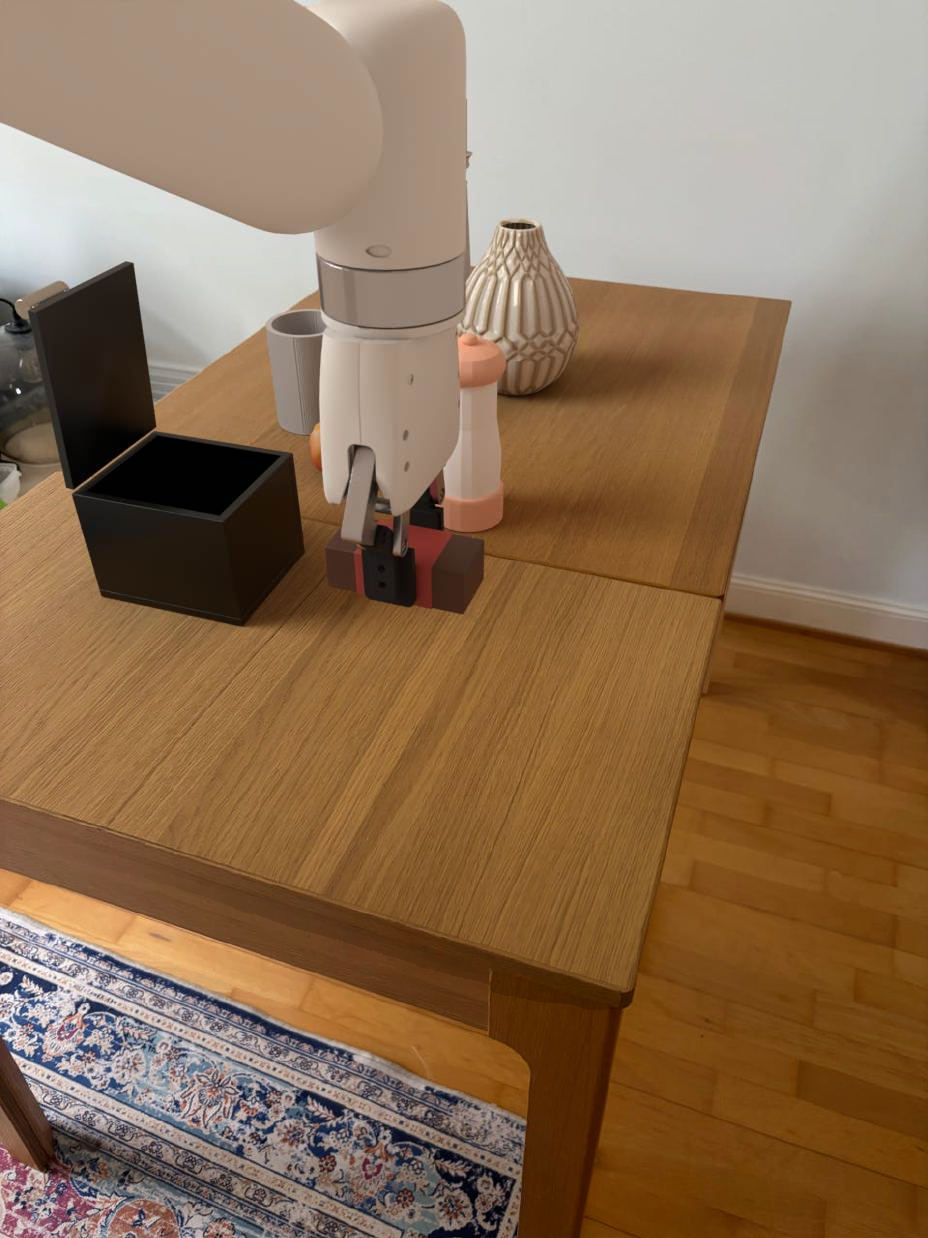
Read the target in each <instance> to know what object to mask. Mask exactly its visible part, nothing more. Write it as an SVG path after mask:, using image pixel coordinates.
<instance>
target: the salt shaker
mask: <svg viewBox="0 0 928 1238" xmlns="http://www.w3.org/2000/svg"><path fill="white" fill-rule="evenodd" d="M458 352H459V372H460V428H459V437H458V442H457V445H456V448H455V450H454V452H453V454H452V455H451V457H450V458H449V460H448V461H447V463H446V465H445V467H443V473H444V483H445V498H444V501H443V503H442V504H441V505H438V504H436V506H437V507H443V508H444V529H445V528H446V529H447V530H450V531H456V532H459V533H475V532H483V531H486V530H490V529H492V528H494V527H495V526H497V525H498V524H499V523H500V522H501V521H502V520H503V517H504V493H505V492H504V487H505V485H504V482H503V481H502V479H501V468H502V455H503V454H502V451H503V450H502V446H501V445H502V444H501V439H500V430H499V425H498V417H497V416H498V415H497V414H498V411H497V410H498V393H497V381H498V380H499V379H500V378H501V377H502V375H503V373H504V371H505V368H506V359H505V355H504V353H503V352H502V350H501V349H500V347H499V346H498V345H497V344H496V343H494V342H492V341H489V340H486V339H483V338H480V337H476V335H475V334H473V333H465V334H463V335H462V336H461V337H458Z"/></svg>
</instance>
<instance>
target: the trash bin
mask: <svg viewBox="0 0 928 1238" xmlns="http://www.w3.org/2000/svg"><path fill="white" fill-rule="evenodd" d="M71 498H72V500H73V503H74V507H75V511H76V515H77V518H78V522H79V524H80V528H81V532H82V535H83V539H84V542H85V545H86V549H87V552H88V556H89V559H90V563H91V566H92V570H93V573H94V576H95V581H96V583H97V587H98V589H99V593H100V596H101V597H102V598H108V599H112V600H117V601H120V602H126V603H131V604H135V605H140V606H145V607H149V608H155V609H158V610H164V611H167V612H168V611H169V612H173V613H176V614H177V613H178V614H182V615H187V616H192V617H196V618H200V619H205V620H211V621H215V622H219V623H225V624H229V625H233V626H238V627H243V626H244V625H245V624H246V623H247V622H248V621H249V619H250V618H251V617H252V616H253V615H254V614H255V612H256V611H257V610H258V609H259V608H260V606H261V605H262V604H263V603H264V601H265V600H266V599H267V598H268V597H269V595H271V593H272V592H273V591H274V590H275V588H276V587H277V586H278V585H279V584H280V583H281V581H282V580H283V579H284V578H285V577H286V576H287V574H288V573H289V572H290V570H291V569H292V568H294V566H295V564H297V562H298V561H299V560H300V559H301V557H302V556H303V555H304V554H305V553H306V549H305V541H304V540H305V539H304V533H303V532H304V531H303V523H302V515H301V509H300V508H301V507H300V499H299V492H298V484H297V476H296V469H295V460H294V454H293V452H288V451H281V450H276V449H271V448H264V447H258V446H251V445H245V444H238V443H232V442H226V441H220V440H214V439H208V438H202V437H195V436H190V435H189V436H188V435H182V434H176V433H170V432H164V431H159V430H158V431H157V430H152V431H151V432H150V433H149V434H147V435H146V436H145V437H143V438H142V439H141V440H139V441H138V442H137V443H136V444H134V445H133V447H130V448H129V450H126V451H125V452H124V454H123V453H122V454H121V455H120V457H119V456H118V457H117V459H116V460H113V461H112V462H111V463H109V464H108V465H107V467H106V466H105V467H104V469H103V470H102V469H101V470H100V471H99V473H96V475H94V476H92V477H91V478H90V479H88V480H87V481H86V482H84V483H83V485H82V486H81V485H80V486H79V487H78V489H75V491H73V492H72V493H71Z"/></svg>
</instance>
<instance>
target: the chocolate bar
mask: <svg viewBox="0 0 928 1238" xmlns="http://www.w3.org/2000/svg"><path fill="white" fill-rule="evenodd" d="M374 522H375V524H379V525H384V526H387V527H388V528H390V529H391V530H392V531H393V520H386V519H376V518H374ZM341 529H342V525H341V526H340V528H338V530H337V531H336V532H335V533H334V534H333V536H332V537H331V538H330V539H329V541H327V543H326V544H325V545H324V547H323V548H324V556H325V558H324V559H325V567H326V576H327V578H326V579H327V585H328V587H330V588H335V589H337V590H338V589H339V590H343V591H347V592H348V591H349V592H354V593H357V594H358V595H362V596H365V593H364V580H363V567H362V554H361V549H358V547H357V543H353V542H347V541H343V540H342V538H341ZM408 547H410V548H414V549H415V572H416V601H415V603H414V604H413V606H415V607H418V608H425V609H429V610H432V609H435V610H438V611H439V610H440V611H445V612H449V613H454V614H459V615H464V614H465V612H466V611H467V609H468V607H469V606H470V604H471V602H472V601H473V598H474V597H475V596H476V593H477V592H478V590H479V588H480V587H481V584H482V583H483V581H484V580H485V539H482V538H478V537H477V538H476V537H471V536H466V535H461V534H456V533H454V532H452V531H451V532H450V531H445V530H444V531H441V530H435V529H430V528H424V527H419V526H414V525H409V540H408Z"/></svg>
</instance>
